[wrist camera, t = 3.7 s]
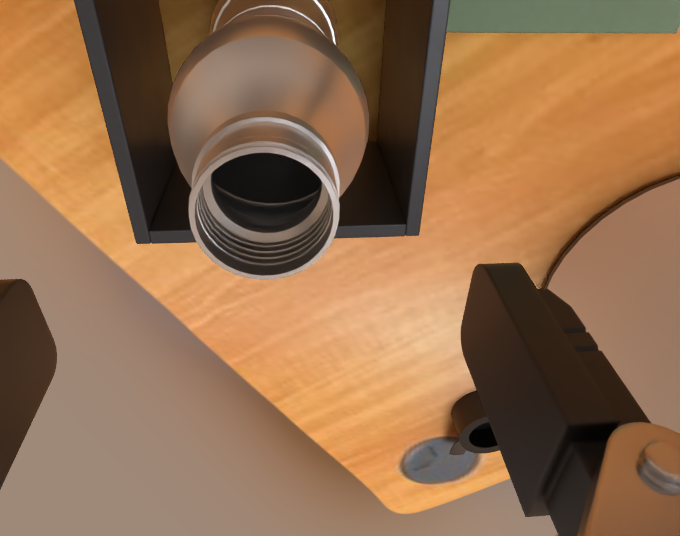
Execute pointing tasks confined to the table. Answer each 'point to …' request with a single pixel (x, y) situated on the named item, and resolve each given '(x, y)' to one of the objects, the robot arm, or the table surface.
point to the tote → (154, 140)
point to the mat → (564, 16)
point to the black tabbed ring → (472, 427)
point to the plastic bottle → (267, 134)
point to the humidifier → (632, 294)
